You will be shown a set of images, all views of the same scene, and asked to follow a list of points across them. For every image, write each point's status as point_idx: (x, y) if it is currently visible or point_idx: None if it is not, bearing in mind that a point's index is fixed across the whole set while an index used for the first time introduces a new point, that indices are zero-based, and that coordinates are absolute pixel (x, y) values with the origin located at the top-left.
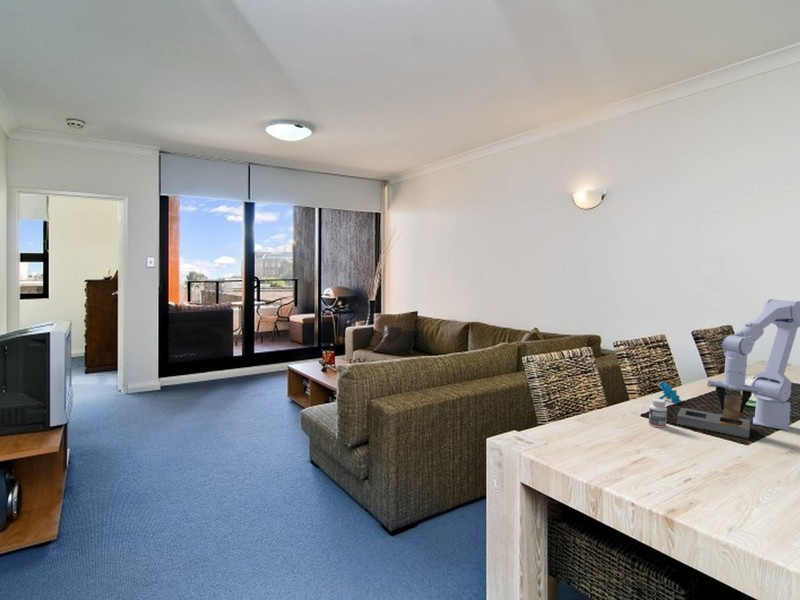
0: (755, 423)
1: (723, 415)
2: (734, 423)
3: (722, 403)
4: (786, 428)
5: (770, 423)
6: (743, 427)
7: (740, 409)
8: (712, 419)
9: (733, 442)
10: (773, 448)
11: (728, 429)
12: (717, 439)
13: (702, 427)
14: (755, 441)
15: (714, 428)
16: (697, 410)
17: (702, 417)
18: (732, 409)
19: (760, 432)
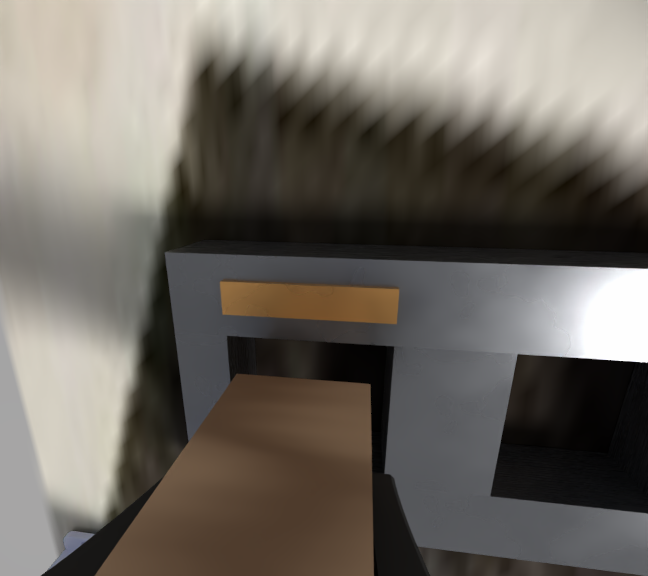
0: None
1: (367, 397)
2: None
3: (395, 553)
4: (71, 545)
5: None
6: (211, 285)
7: None
8: (453, 367)
9: (287, 38)
10: (56, 116)
11: (324, 251)
12: (405, 20)
13: (517, 251)
14: (164, 204)
15: (427, 249)
16: (558, 562)
17: (508, 469)
18: (267, 456)
19: (167, 426)
